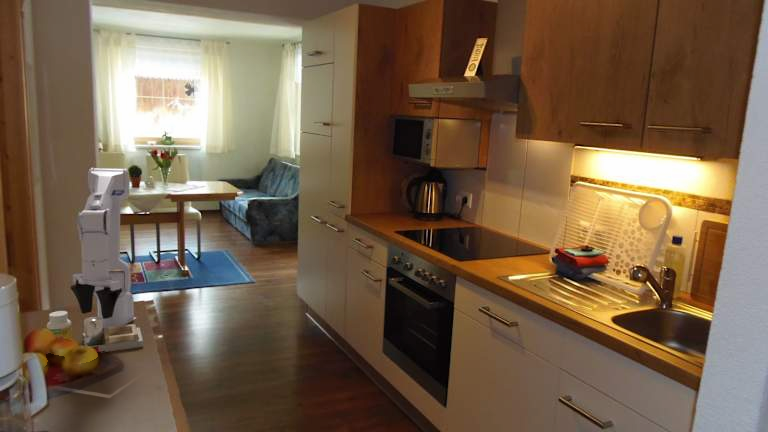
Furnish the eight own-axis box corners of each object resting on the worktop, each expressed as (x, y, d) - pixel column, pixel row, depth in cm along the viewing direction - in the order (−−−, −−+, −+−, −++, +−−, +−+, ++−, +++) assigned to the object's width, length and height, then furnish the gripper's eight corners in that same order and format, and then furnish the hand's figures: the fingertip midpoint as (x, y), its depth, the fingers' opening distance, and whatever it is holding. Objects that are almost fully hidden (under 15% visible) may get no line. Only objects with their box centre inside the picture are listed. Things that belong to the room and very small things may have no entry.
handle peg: (92, 341, 144) (91, 315, 143) (106, 343, 144) (105, 317, 142) (81, 347, 141) (80, 321, 139) (95, 349, 140) (94, 323, 139)
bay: (83, 357, 137) (82, 347, 136) (83, 342, 145) (82, 333, 145) (143, 348, 143) (142, 339, 143) (139, 335, 152) (139, 326, 151)
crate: (105, 348, 140) (104, 338, 140) (104, 337, 147) (103, 327, 146) (137, 344, 144) (137, 334, 143) (135, 333, 150) (135, 324, 150)
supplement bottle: (71, 344, 144) (70, 308, 142) (73, 351, 140) (72, 315, 138) (47, 347, 141) (45, 311, 139) (48, 355, 137) (46, 318, 135)
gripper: (60, 259, 133) (62, 314, 135) (100, 266, 127) (102, 324, 129) (87, 254, 140) (88, 307, 141) (127, 261, 133) (128, 316, 135)
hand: (97, 315), depth 135 cm, fingers open, 7 cm apart
